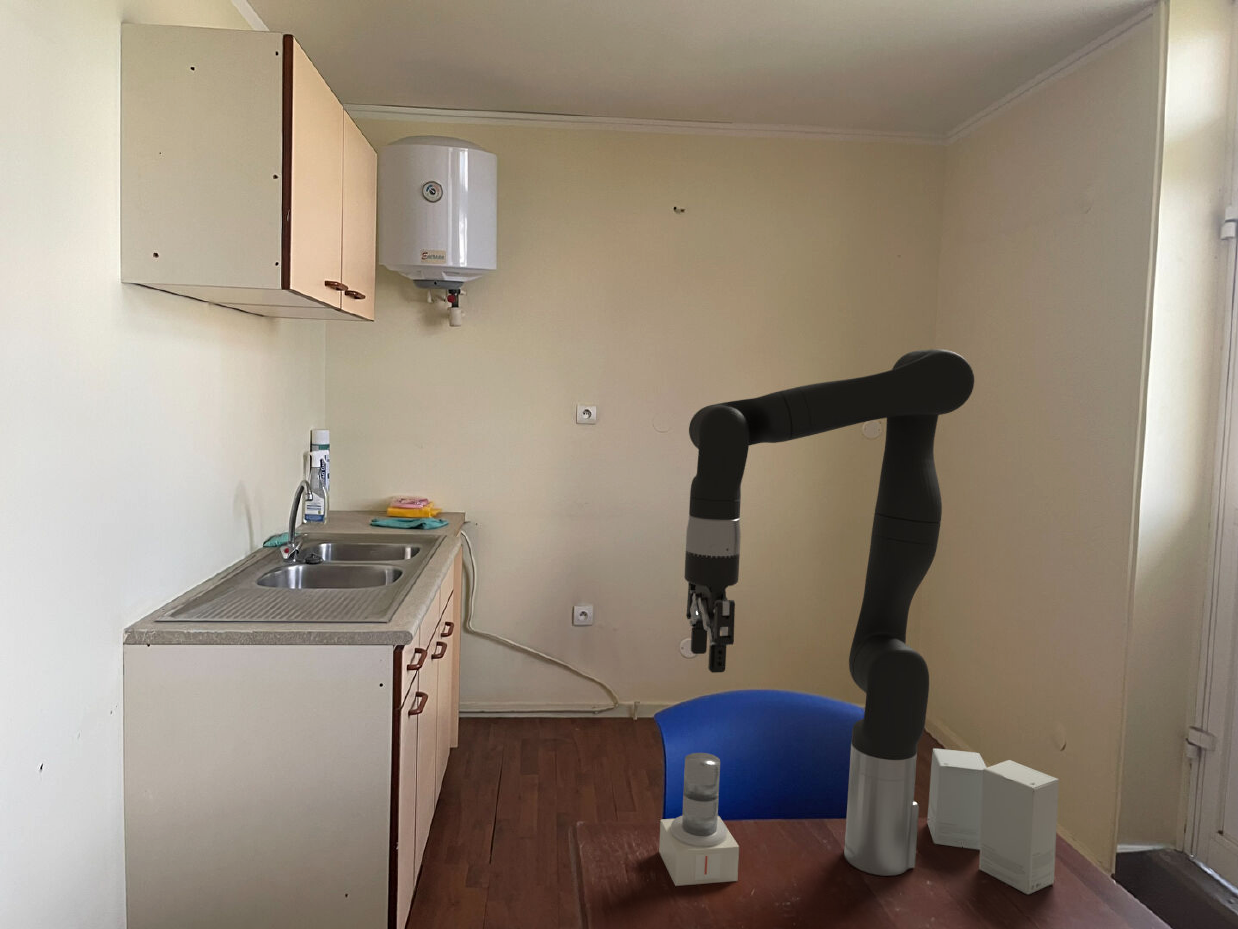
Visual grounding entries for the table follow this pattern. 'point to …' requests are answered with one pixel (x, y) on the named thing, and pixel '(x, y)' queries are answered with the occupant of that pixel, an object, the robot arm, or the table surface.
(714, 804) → the cylinder
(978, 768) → the supplement box
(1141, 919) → the table surface
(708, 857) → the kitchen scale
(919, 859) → the table surface
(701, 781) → the cylinder
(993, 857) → the skincare box
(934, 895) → the table surface
